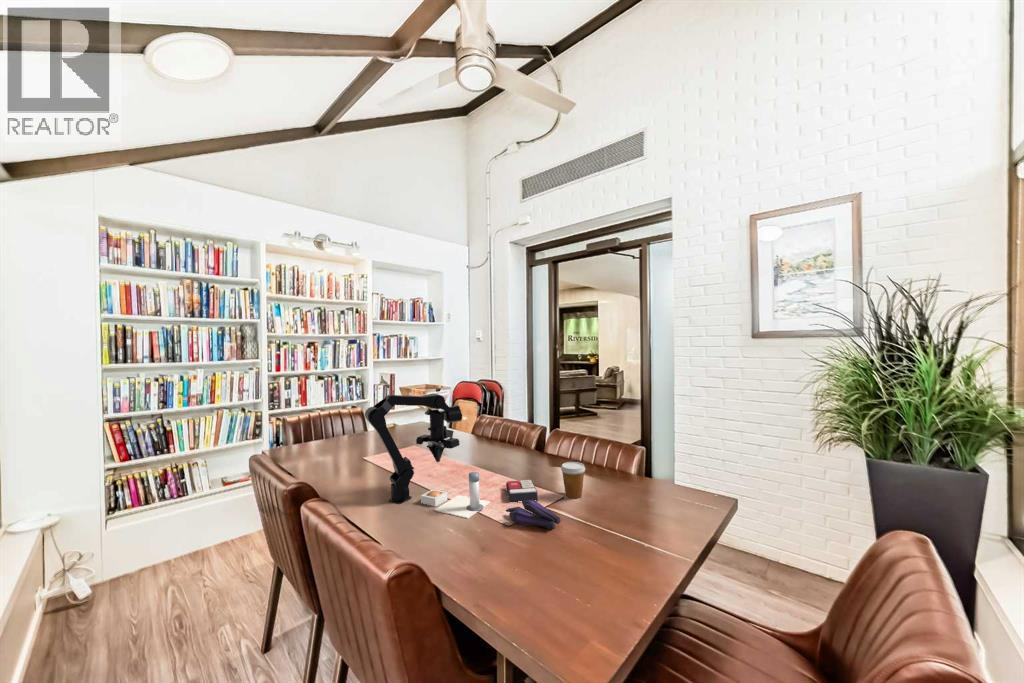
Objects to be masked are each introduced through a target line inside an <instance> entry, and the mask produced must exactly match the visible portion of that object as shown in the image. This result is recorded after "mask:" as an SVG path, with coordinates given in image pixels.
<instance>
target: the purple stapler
mask: <svg viewBox="0 0 1024 683" xmlns="http://www.w3.org/2000/svg"><path fill="white" fill-rule="evenodd" d="M521 504H522V506H523V508H522V507H521V506H515V507H508V508H506V510H505V512H507V513H509V517H510V518H511V519H512V521H513V522H514V523H515V524H516V525H521V524H522V525H524V526H537V527H542V528H546V529H549V530H552V529H553V530H555V528H556V524H557V525H559V524H560V523H561V517H560V516H558V515H556V514H555V513H554V512H552V511H551V510H550V509H548V508H546V507H545V506H544V505H542V504H541V503H539V502H538V501H535V500H527V501H522V502H521Z"/></svg>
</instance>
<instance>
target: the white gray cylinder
mask: <svg viewBox="0 0 1024 683" xmlns="http://www.w3.org/2000/svg"><path fill="white" fill-rule="evenodd" d="M468 483H469V484H468V485H469V486H468V487H469V490H468V491H469V497H470V508H471V509H478V508H480V500H481V499H480V473H479V471H471V472H468ZM479 499H480V500H479Z"/></svg>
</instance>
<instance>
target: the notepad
mask: <svg viewBox="0 0 1024 683" xmlns="http://www.w3.org/2000/svg"><path fill="white" fill-rule="evenodd" d="M479 500H480V508H478V509H471V508H470V496H465V495H461V494H459V495H456V496H455V497H453V498H451V499H449V500H447V502H446V501H445V502H444V503H442V504H440V505H439V506H438V507H436V508H434V512H438V513H443V514H446V515H450V514H451V516H456V517H459V518H464V519H470V518H471V517H473V516H474V515H475V514H477V513H478V512H479V510H480V511H481V510H483V509H484V508H485V507H487V506H489V505H490V504H491V503H490V502H491V501H489V500H484V499H480V498H479ZM489 503H490V504H489ZM486 505H487V506H486ZM483 507H484V508H483Z"/></svg>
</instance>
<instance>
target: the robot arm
mask: <svg viewBox="0 0 1024 683" xmlns="http://www.w3.org/2000/svg"><path fill="white" fill-rule="evenodd" d="M395 406H417V407H418V406H423V407H426V408H427V410H426V411H425V412H424V415H427V416H429V427H428V428H427V430H428V431H429V432H430V433H429V434H422V435H419V436H417V437H416V439H415V441H416V445H423V444H424V443H427V445H426V448H427V449H428V450H429V451H430V452H431V455H432V457H433V459H434V460H435V461H436V463H440V462H441V459H442V455H443V452H444V450H445V449H454V448H456V447H459V446H460V440H459V438H455V437H453V436H454V430H452V429H447V428H448V427H447V426H446V425H445V422H446V423H447V424H451V423H457V422H461V421H462V420H463V413H462V410H461V408H460V407H461V406H460V405H458V404H457V405H456V404H455V405H453V406H449V405H448V404H447V403H446V399H445V397H444V396H443V395H441V394H437V393H430V394H425V395H404V394H403V395H402V394H399V395H397V394H387V396H385V397H384V398H383V399H381V400H380V401H378V402H377V403H375V404H374V406H370V407H368V408H366V410H365V412H364V417H365V418H364V419H365V420H367V423H369V424H370V426H372V428H374V430H375V431H376V433H377V434H378V436H379V438H380V440H381V442H382V444H383V445H384V448H385V449H386V452H387V454H388V455H389V457H390V459H391V461H392V466H393V470H394V471H393V473H392V474H391V475H390V476H389V480H390V483H391V484H390V490H391V491H390V493H391V498H389V499H388V502H391V501H392V503H396V504H399V503H400V504H403V503H405V502H406V501H408V499H409V500H410V499H412V496H410V488H409V486H410V483H411V480H412V479H413V477H414V475H415V472H414V470H415V467H414V466H413V465H412V462H411V460H410V459H409V458H408V457H407V456H404V457H403V455H402V454H401V452H400V450H399V448H398V446H397V445H396V444H397V443H396V441H395V440H394V438H393V437H392V435H391V433H390V430H389V429H388V427H387V421H386V417H385V416H386V415H387V414H388V413H389V412H390V411H391V410H392V409H393V407H395ZM404 501H405V502H404Z"/></svg>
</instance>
